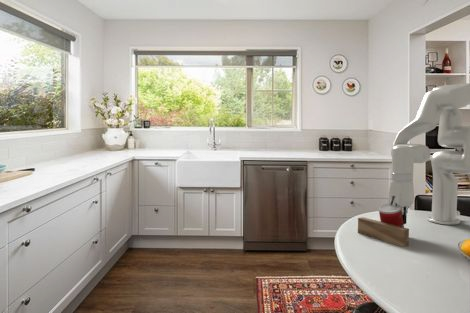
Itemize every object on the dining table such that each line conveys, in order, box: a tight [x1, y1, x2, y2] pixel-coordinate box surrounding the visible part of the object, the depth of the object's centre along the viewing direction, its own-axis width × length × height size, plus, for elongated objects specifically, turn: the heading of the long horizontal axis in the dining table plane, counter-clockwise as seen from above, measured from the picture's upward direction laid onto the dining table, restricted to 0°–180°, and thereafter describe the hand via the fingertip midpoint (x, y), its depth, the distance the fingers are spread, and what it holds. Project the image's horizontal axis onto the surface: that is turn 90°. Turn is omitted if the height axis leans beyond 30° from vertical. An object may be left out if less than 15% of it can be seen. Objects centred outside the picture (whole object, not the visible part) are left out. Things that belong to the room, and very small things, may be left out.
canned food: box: [378, 203, 405, 228], centre depth 139 cm, size 8×8×11 cm
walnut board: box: [357, 216, 410, 247], centre depth 137 cm, size 3×20×6 cm, turn 31°
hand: (401, 223), depth 142 cm, fingers closed
